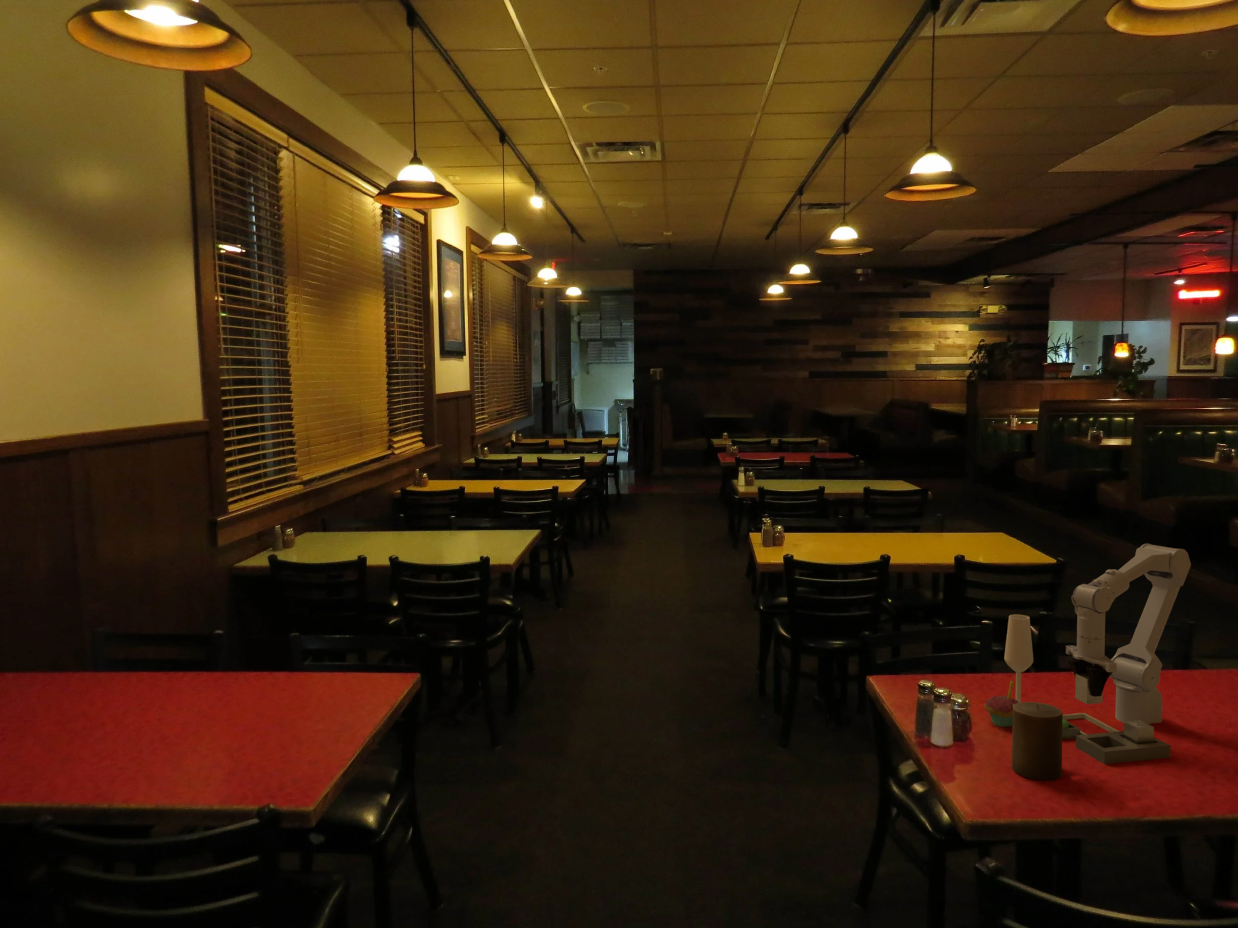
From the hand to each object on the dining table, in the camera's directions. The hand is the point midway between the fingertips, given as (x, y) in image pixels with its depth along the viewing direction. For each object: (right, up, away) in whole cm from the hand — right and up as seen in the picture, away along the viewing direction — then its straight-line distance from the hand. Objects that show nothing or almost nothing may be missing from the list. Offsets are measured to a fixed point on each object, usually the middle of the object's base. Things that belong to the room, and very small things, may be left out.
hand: (1089, 692), depth 201 cm
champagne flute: (-9, -9, +17) cm, 21 cm away
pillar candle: (-22, -12, -18) cm, 31 cm away
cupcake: (-17, -10, +7) cm, 21 cm away
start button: (-8, -10, -1) cm, 12 cm away
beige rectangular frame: (0, -10, +1) cm, 10 cm away
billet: (0, -2, 0) cm, 2 cm away
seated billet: (+5, -10, -11) cm, 16 cm away
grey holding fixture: (+1, -11, -12) cm, 16 cm away
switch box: (-8, -10, -1) cm, 13 cm away
